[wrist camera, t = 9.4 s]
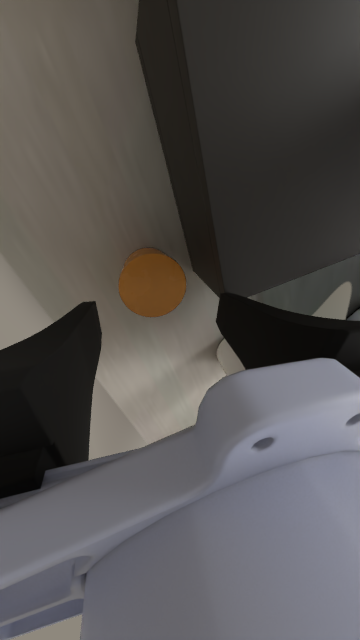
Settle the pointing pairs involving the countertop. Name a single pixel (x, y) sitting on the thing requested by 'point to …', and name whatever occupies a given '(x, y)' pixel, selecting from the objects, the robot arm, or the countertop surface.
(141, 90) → the countertop surface
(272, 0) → the black drawer unit
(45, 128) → the countertop surface
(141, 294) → the cylinder
